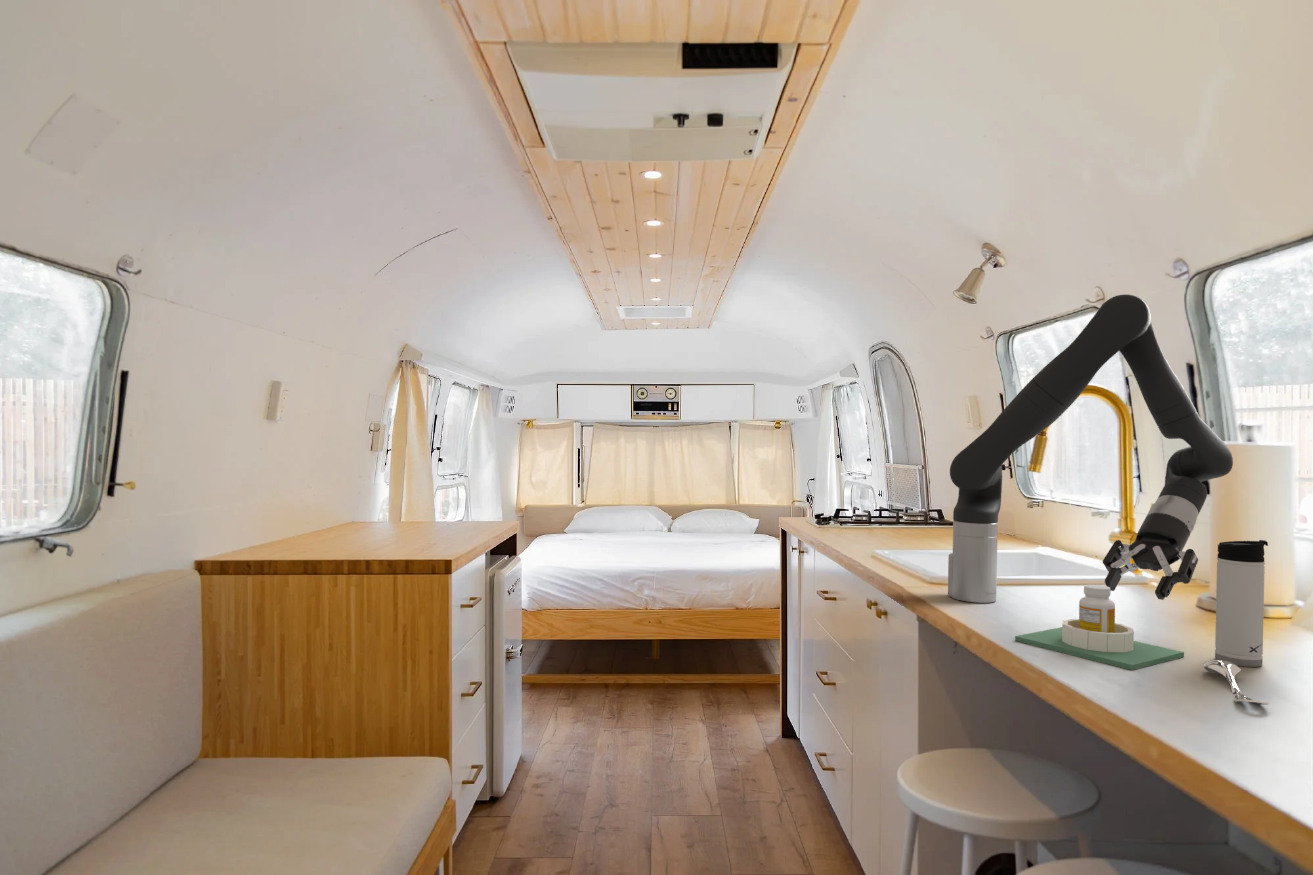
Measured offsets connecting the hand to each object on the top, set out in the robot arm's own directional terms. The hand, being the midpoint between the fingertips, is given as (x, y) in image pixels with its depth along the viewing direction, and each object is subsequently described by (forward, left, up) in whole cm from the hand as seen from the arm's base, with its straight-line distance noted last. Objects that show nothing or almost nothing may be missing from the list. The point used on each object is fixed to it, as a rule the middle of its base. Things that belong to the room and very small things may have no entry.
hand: (1133, 592), depth 142 cm
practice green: (0, -11, -9) cm, 14 cm away
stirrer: (+23, -17, -9) cm, 30 cm away
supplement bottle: (0, -11, -8) cm, 14 cm away
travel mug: (+16, +2, -9) cm, 18 cm away
